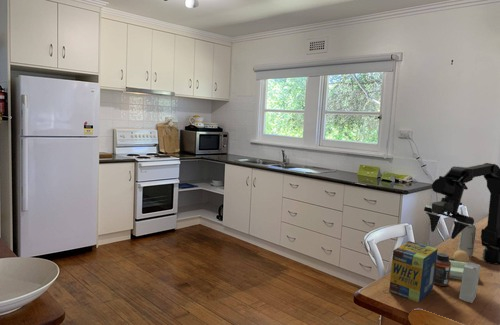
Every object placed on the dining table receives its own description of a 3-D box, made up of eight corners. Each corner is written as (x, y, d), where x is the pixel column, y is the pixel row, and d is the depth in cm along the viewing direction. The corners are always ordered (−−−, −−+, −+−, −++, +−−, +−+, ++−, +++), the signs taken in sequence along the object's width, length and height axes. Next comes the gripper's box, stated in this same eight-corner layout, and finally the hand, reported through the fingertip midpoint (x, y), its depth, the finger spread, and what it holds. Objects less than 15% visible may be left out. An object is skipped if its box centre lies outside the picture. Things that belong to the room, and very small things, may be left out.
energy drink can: (469, 258, 171) (473, 226, 169) (455, 254, 175) (459, 223, 174) (474, 256, 175) (478, 224, 173) (460, 252, 179) (464, 221, 178)
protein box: (388, 292, 134) (392, 250, 132) (404, 279, 146) (409, 240, 144) (418, 303, 127) (423, 258, 125) (433, 288, 139) (438, 248, 137)
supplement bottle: (450, 287, 140) (454, 258, 139) (433, 285, 141) (436, 256, 140) (445, 281, 146) (449, 252, 144) (429, 279, 147) (432, 250, 146)
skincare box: (462, 293, 136) (466, 261, 134) (476, 297, 133) (481, 264, 132) (458, 299, 131) (462, 265, 130) (473, 304, 128) (477, 269, 127)
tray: (469, 270, 158) (470, 263, 157) (478, 282, 146) (479, 274, 146) (438, 265, 161) (438, 259, 161) (444, 277, 149) (445, 269, 149)
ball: (466, 262, 166) (467, 249, 165) (470, 267, 160) (471, 254, 160) (451, 260, 168) (452, 247, 167) (454, 265, 162) (456, 252, 161)
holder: (470, 261, 168) (470, 260, 167) (476, 270, 158) (477, 268, 158) (445, 258, 170) (445, 257, 170) (450, 266, 161) (450, 265, 161)
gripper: (420, 189, 157) (409, 225, 157) (461, 199, 140) (449, 239, 140) (437, 194, 162) (427, 229, 162) (480, 204, 145) (468, 243, 145)
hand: (442, 235), depth 152 cm, fingers open, 9 cm apart
